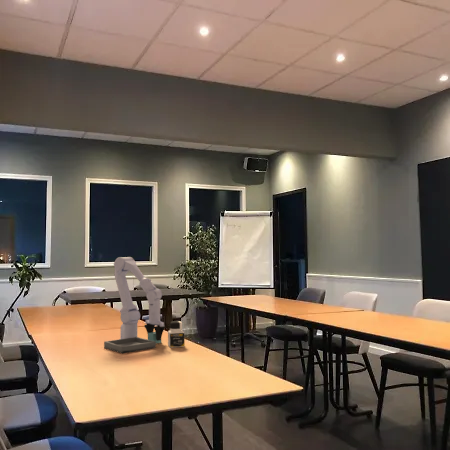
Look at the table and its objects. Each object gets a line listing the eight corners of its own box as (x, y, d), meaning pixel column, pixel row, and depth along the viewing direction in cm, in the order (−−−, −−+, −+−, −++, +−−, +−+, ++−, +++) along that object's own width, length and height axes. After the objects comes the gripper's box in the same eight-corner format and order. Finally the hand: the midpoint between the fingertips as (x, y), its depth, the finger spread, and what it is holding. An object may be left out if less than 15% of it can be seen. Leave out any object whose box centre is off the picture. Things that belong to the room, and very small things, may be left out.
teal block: (147, 342, 237) (147, 332, 237) (156, 341, 240) (156, 331, 241) (153, 344, 233) (153, 334, 234) (161, 342, 237) (161, 332, 237)
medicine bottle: (170, 347, 223) (170, 322, 224) (167, 345, 230) (167, 320, 231) (184, 346, 225) (184, 322, 226) (182, 344, 232) (181, 320, 233)
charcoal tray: (104, 347, 225) (104, 341, 225) (136, 342, 237) (136, 336, 237) (122, 353, 211) (122, 346, 212) (155, 347, 223) (155, 341, 223)
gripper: (140, 312, 241) (140, 338, 240) (155, 314, 230) (155, 342, 229) (152, 310, 245) (152, 336, 244) (167, 313, 234) (167, 340, 233)
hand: (154, 339), depth 237 cm, fingers open, 7 cm apart
